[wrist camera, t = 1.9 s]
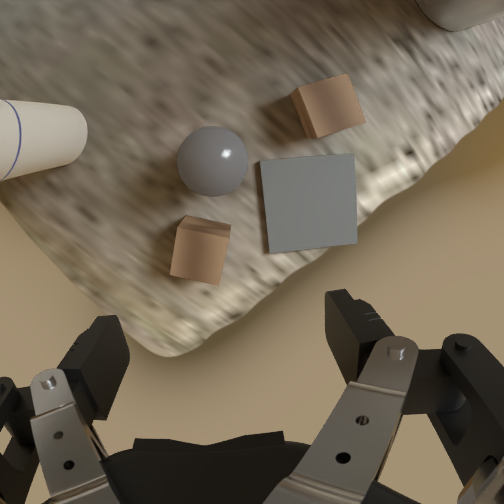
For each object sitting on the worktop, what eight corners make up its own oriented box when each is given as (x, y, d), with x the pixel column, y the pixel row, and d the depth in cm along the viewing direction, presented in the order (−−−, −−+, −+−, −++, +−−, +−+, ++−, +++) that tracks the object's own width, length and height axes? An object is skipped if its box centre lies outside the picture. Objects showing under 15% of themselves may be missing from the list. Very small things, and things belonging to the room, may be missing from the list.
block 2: (332, 81, 30) (347, 73, 25) (349, 124, 31) (365, 122, 27) (289, 94, 30) (297, 87, 26) (306, 138, 32) (317, 138, 27)
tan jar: (243, 126, 31) (243, 121, 23) (249, 178, 33) (252, 191, 25) (190, 134, 31) (172, 132, 23) (197, 185, 33) (182, 201, 25)
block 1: (231, 224, 35) (229, 238, 30) (221, 266, 36) (218, 285, 32) (186, 215, 34) (177, 227, 30) (178, 257, 36) (169, 275, 31)
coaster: (351, 153, 32) (353, 153, 32) (355, 241, 36) (357, 243, 35) (259, 160, 32) (259, 161, 32) (269, 251, 36) (269, 253, 35)
